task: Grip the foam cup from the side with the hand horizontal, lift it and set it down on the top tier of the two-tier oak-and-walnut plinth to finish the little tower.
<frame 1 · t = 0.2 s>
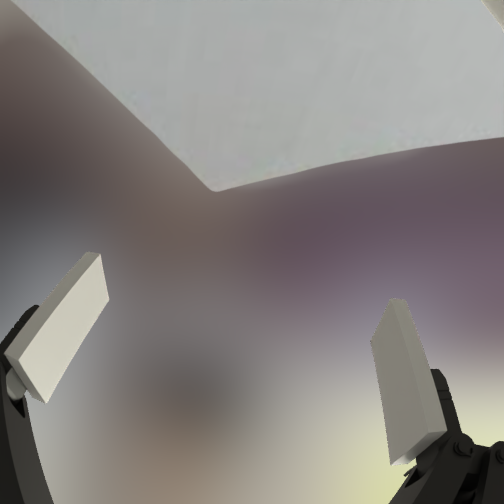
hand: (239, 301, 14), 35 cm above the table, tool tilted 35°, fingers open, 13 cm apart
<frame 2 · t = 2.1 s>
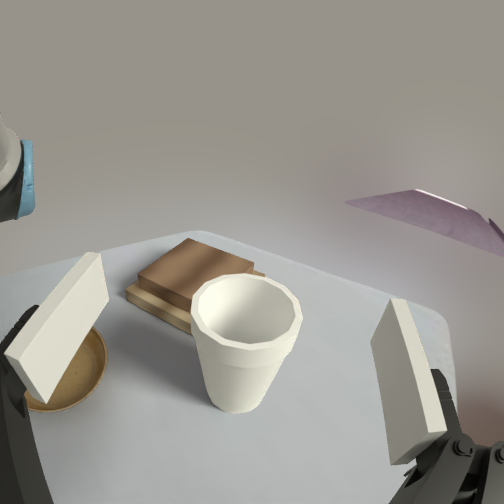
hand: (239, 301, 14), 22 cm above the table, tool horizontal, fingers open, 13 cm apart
foam cup: (235, 391, 34), on the table
plinth: (197, 292, 47), on the table
plant saucer: (57, 372, 31), on the table
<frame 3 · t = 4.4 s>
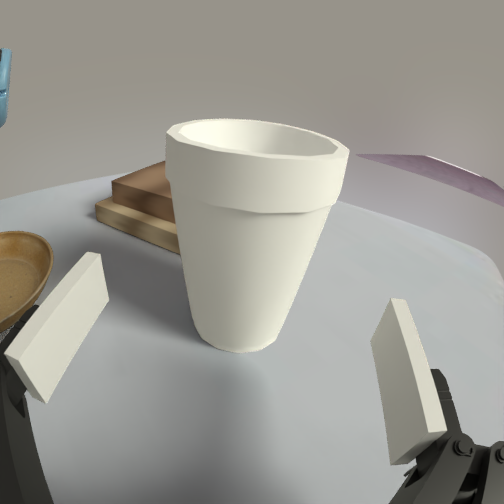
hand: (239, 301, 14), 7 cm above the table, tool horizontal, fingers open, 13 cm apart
foam cup: (237, 321, 23), on the table
plinth: (187, 212, 36), on the table
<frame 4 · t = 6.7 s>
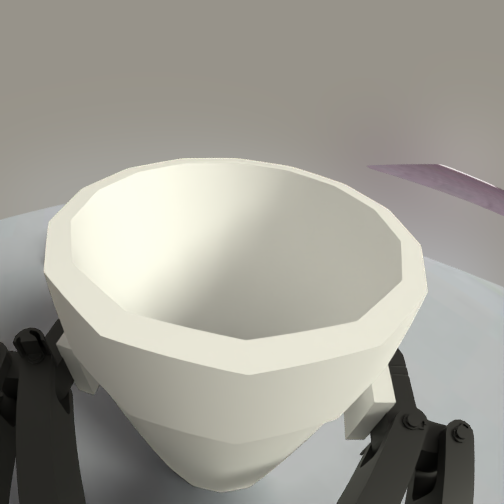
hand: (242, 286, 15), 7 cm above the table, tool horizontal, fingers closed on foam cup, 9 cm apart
foam cup: (220, 441, 15), on the table, touching gripper
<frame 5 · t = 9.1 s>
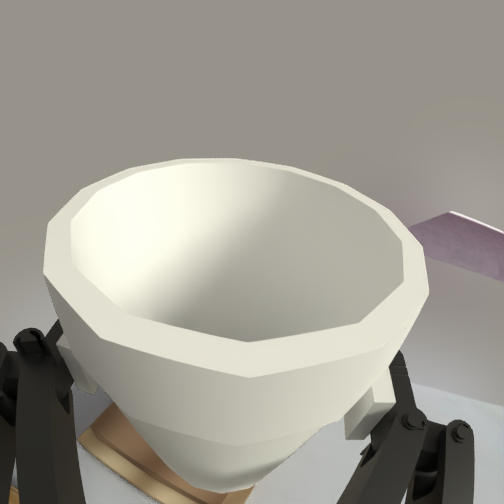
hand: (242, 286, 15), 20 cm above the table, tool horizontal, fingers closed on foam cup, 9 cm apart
foam cup: (220, 441, 15), point 12 cm above the table, touching gripper
plinth: (190, 436, 26), on the table
when the fingers open (13 cm above the table, at t = 11.7 s): foam cup drops 1 cm, resting on plinth.
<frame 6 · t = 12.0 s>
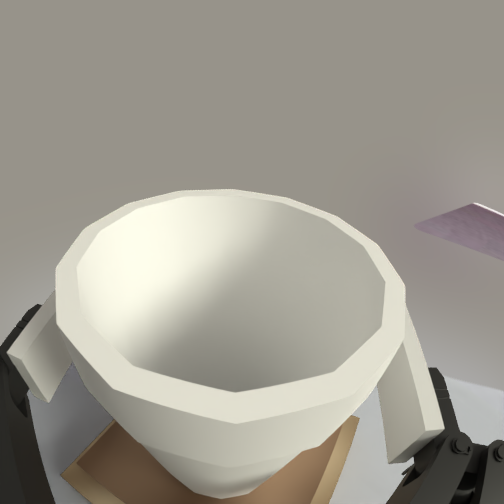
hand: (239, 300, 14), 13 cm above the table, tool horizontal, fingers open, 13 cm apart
foam cup: (220, 450, 15), point 4 cm above the table, touching plinth
plinth: (218, 470, 18), on the table
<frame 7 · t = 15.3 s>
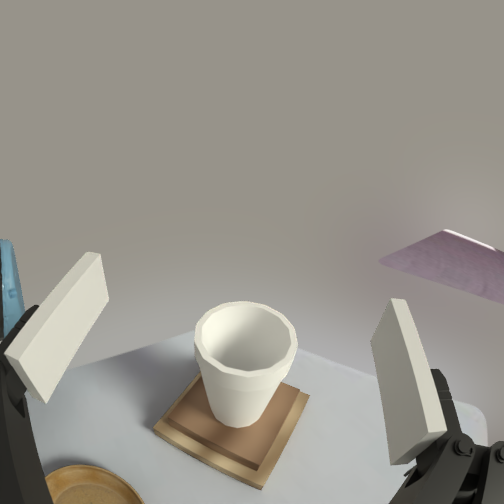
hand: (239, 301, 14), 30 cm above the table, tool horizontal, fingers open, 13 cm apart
foam cup: (236, 406, 35), point 4 cm above the table, touching plinth
plinth: (234, 421, 38), on the table
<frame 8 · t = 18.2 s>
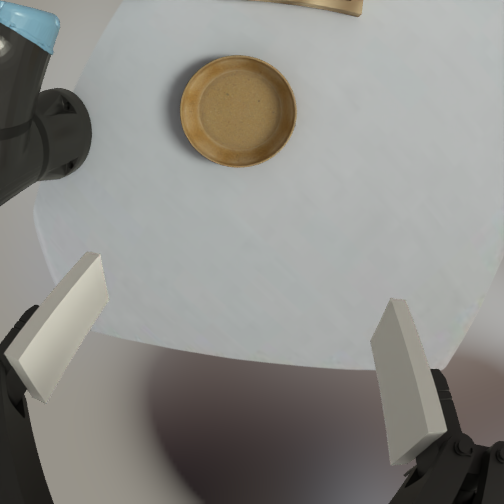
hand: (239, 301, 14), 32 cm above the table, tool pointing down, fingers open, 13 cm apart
plant saucer: (239, 109, 39), on the table
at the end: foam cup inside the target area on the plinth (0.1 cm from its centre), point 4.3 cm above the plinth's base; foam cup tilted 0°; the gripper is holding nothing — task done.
